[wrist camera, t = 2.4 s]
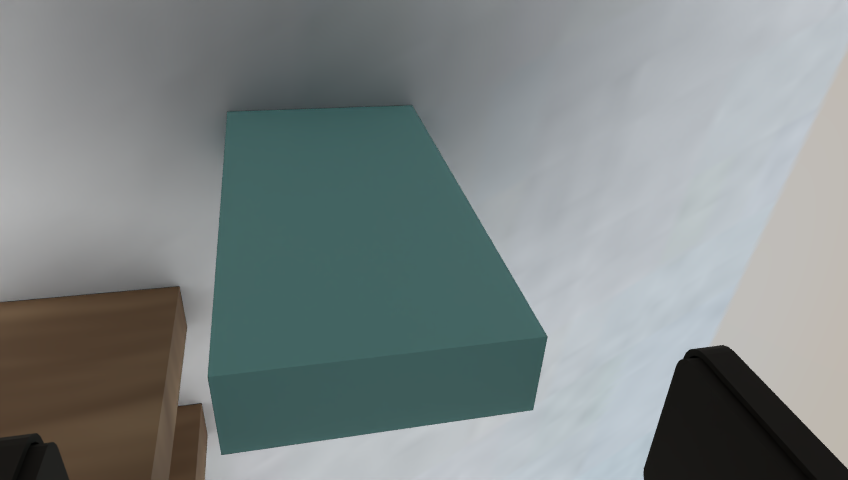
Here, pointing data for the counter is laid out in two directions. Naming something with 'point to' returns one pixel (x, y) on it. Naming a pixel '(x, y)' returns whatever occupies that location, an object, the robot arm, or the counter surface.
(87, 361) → the domino
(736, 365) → the robot arm
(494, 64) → the counter surface
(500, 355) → the domino
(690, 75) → the counter surface
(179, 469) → the domino
